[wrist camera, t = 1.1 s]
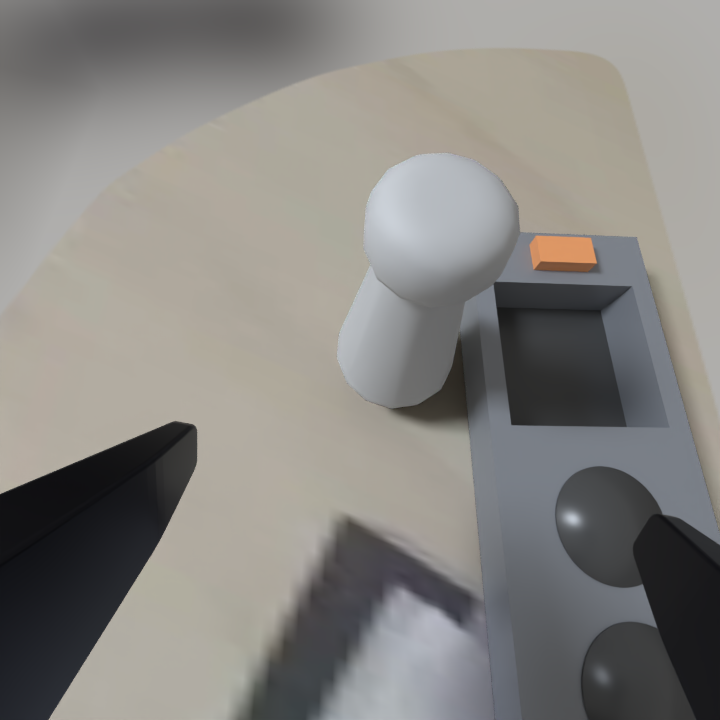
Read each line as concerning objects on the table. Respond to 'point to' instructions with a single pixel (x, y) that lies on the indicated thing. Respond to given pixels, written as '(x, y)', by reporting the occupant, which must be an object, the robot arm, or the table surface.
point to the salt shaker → (423, 273)
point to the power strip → (575, 478)
